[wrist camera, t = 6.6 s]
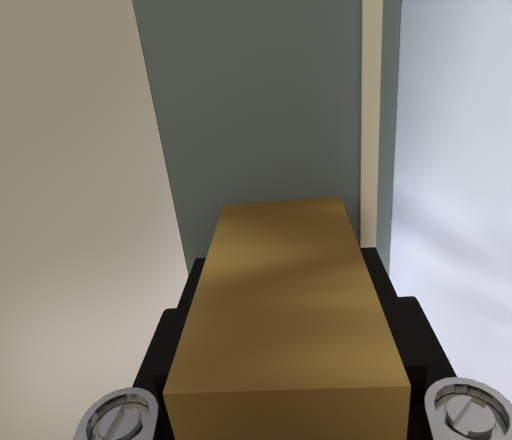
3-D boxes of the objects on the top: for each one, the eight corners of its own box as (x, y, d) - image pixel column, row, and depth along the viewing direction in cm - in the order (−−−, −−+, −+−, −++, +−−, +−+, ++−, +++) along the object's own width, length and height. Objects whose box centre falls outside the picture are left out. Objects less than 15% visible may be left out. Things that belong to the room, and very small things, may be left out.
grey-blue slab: (387, -141, 8) (842, -868, 2) (370, 448, 16) (435, 747, 10) (133, -104, 9) (-336, -542, 2) (236, 451, 17) (207, 736, 10)
